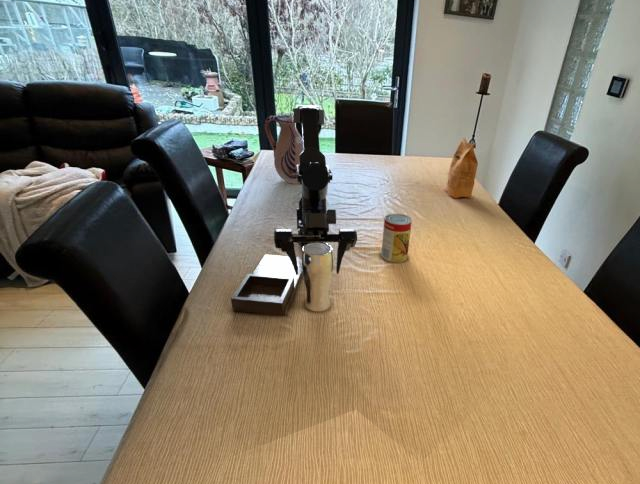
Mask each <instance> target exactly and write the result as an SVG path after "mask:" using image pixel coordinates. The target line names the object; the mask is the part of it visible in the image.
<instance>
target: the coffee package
mask: <svg viewBox="0 0 640 484" xmlns="http://www.w3.org/2000/svg"><path fill="white" fill-rule="evenodd" d="M476 148H477V145H475V143H470V142H467V140H466V138H463V137H462V139H461V141H460V143H459V144H458V146H457V147H456V150H455V152H454V154H453V156H452V159H451V163H450V166H449V168H448V169H449V170H448V172H447V181H446V187H445V192H447V194H448V196H450V197H452V198H453V199H458V198H469V197H472V195H473V190H474V186H475V183H476V181H475V180H476V177H477V169H478V165H479V163H478V159H477V155H476V153H475V150H474V149H476Z"/></svg>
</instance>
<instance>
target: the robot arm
mask: <svg viewBox="0 0 640 484" xmlns="http://www.w3.org/2000/svg"><path fill="white" fill-rule="evenodd" d="M292 116H293V123H296V132H297V133H298V135H299V137H300V138H301V140H302V153H301V154H300V155H299V165H297V182H300V184H299V185H301V197H300V199H299V200H298V207H296V209H295V210H296V211H295V212H296V229H297V233H293V230H292V229H291V228H276V229H275V230H274V231H273V240H274V247H275V249H280V251H281V252H282V253H283V252H284V253H286V255H287V256H288V257H289V258H290V260H291V262H292V265H293V268H294V270H295V273H296V275H298V265H297V260H296V257H297V255H296V249H295V243H296V244H299V245H300V247H302V248H303V246H304V245H306V244H308V243H312V242H322V243H337V244H338V246H337V249H336V265H335V271H336V275H339V274H340V270H341V266H342V261H343V258H344V255H345V253H346V252H349V251H350V250H351V248H355V247H356V245H357V241H358V233H357V231H356V229H355V228H339V230H338V233H329V232H330V225H336V224H337V211H336V209H331V208H329V209H327V195H328V189H329V188H328V187H329V184H330V183H331V181H333V173H332V170H331V168H330V167H329V166H330V165H327V162H326V155H325V154H323V152H321V149H320V147H321V146H320V134H321V131H322V125H323V126H324V125H325V110H324V109H320V106H319V105H304V104H296V107H295V108H293V107H292Z"/></svg>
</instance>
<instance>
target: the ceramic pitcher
mask: <svg viewBox="0 0 640 484" xmlns="http://www.w3.org/2000/svg"><path fill="white" fill-rule="evenodd" d="M271 121H275V122H276V123H278V126H279V128H280V129H279V130H280V131H279V134H278V138H277V141H276V142H275V139H274V137H273V134H272V132H271V128H270V123H271ZM264 130H265V135H266V137H267V139H268V141H269V144H270V146H271V148H272V150H273V164H274V165H273V166H274V168H275V171H276V173H277V175H279V177H280V179H282V180H283V181H284V182H286V183H288V184H292V185H301V184H300V182H297V165H299V155H300V154H301V153H302V140H301V138H300V137H299V135H298V133H297V132H296V123H293V114H289V115H287V114H286V115H269V116H267V118H265V121H264Z"/></svg>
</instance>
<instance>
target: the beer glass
mask: <svg viewBox="0 0 640 484" xmlns="http://www.w3.org/2000/svg"><path fill="white" fill-rule="evenodd" d="M301 250H302V252H301V253H302V254H301V258H302V272H303V275H302V278H303V282H304V286H305V290H306V291H305V292H306V296H305V302H304V306H305V307H306V309H307V310H309V311H310V312H311V311H312V312H323V311H326V310H328V309H329V308H330V307H331V297H330V287H331V282H332V277H333V272H334V256H333V247H332V246H331V245H330V244H329V243H327V242H323V243H322V242H312V243H308V244H306V245H304V246H303V247H302V249H301Z"/></svg>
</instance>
